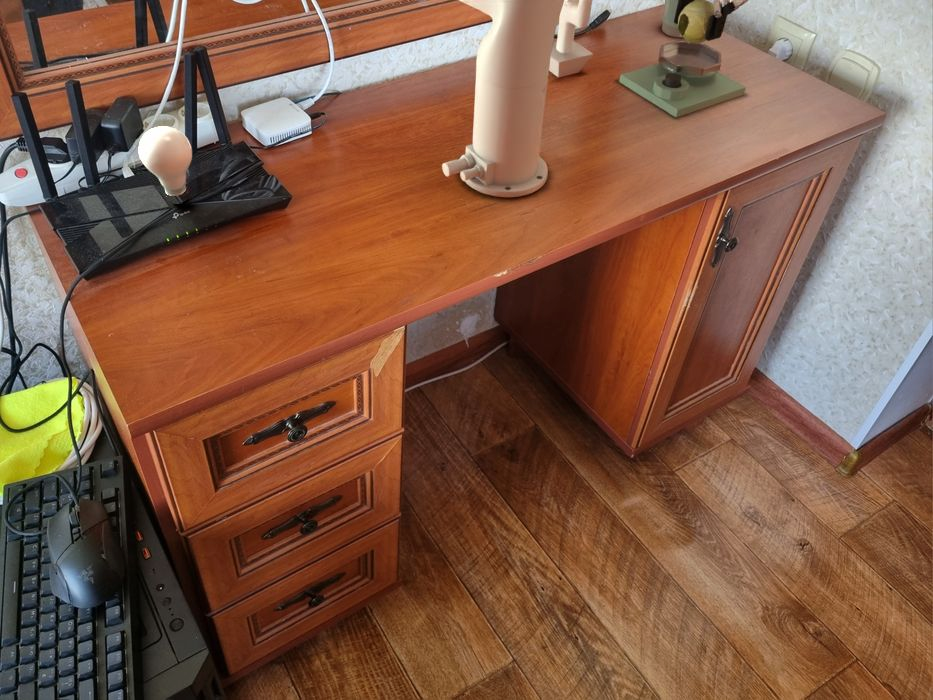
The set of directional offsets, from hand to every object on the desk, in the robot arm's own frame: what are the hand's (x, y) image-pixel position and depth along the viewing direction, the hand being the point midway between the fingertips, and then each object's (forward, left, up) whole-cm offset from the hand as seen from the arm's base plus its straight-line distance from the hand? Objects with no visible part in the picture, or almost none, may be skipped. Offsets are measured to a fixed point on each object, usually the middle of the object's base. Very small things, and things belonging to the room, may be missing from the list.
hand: (697, 29), depth 130 cm
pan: (0, 0, -6) cm, 6 cm away
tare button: (-8, -4, -6) cm, 11 cm away
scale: (-3, -2, -9) cm, 10 cm away
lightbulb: (-87, +8, -9) cm, 88 cm away
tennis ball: (0, 0, -2) cm, 2 cm away
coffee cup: (+13, +16, -9) cm, 23 cm away
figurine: (-17, +14, -9) cm, 23 cm away
